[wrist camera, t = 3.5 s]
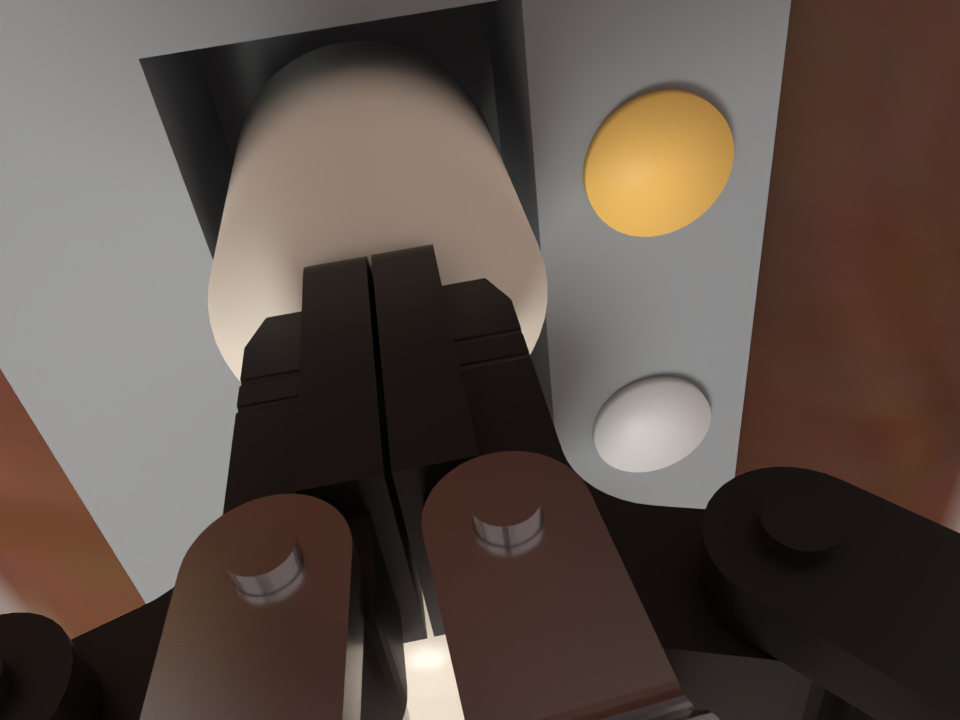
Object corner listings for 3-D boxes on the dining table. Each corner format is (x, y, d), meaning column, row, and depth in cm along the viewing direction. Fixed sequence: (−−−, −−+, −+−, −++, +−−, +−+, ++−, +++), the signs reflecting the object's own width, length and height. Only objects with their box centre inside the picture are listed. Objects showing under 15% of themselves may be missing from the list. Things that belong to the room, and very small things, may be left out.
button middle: (291, 415, 13) (281, 624, 10) (529, 371, 14) (592, 562, 10) (343, 566, 16) (349, 772, 13) (544, 527, 16) (598, 719, 13)
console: (-85, -66, 12) (-236, 8, 9) (690, -185, 13) (818, -157, 10) (255, 625, 23) (244, 771, 20) (660, 544, 24) (714, 673, 21)
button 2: (200, 65, 11) (154, 188, 8) (478, 19, 12) (535, 123, 9) (276, 298, 14) (263, 461, 11) (504, 257, 14) (556, 405, 11)
